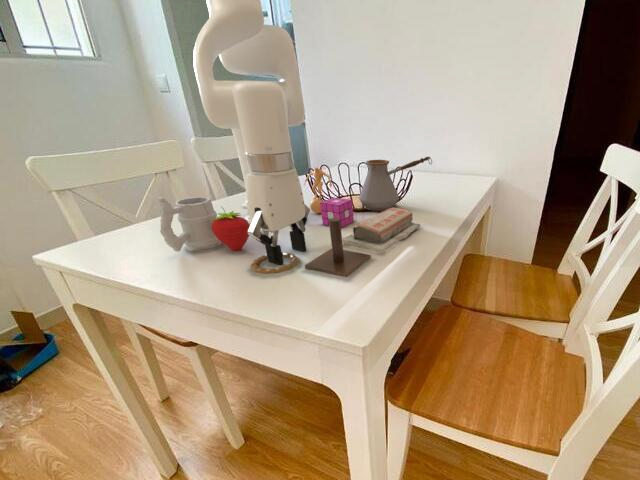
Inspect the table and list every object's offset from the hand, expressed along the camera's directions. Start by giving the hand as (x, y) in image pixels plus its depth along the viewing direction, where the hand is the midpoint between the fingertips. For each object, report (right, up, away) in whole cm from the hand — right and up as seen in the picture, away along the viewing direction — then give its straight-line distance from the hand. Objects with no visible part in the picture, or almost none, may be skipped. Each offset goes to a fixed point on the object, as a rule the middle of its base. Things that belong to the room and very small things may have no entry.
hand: (288, 256), depth 68 cm
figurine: (-1, +14, +28) cm, 31 cm away
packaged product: (+18, +5, +11) cm, 22 cm away
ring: (-1, -2, -3) cm, 4 cm away
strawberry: (-12, +1, +3) cm, 12 cm away
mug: (-21, +2, +5) cm, 21 cm away
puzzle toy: (+6, +10, +20) cm, 23 cm away
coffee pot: (+20, +16, +31) cm, 40 cm away
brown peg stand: (+11, -2, -2) cm, 11 cm away
